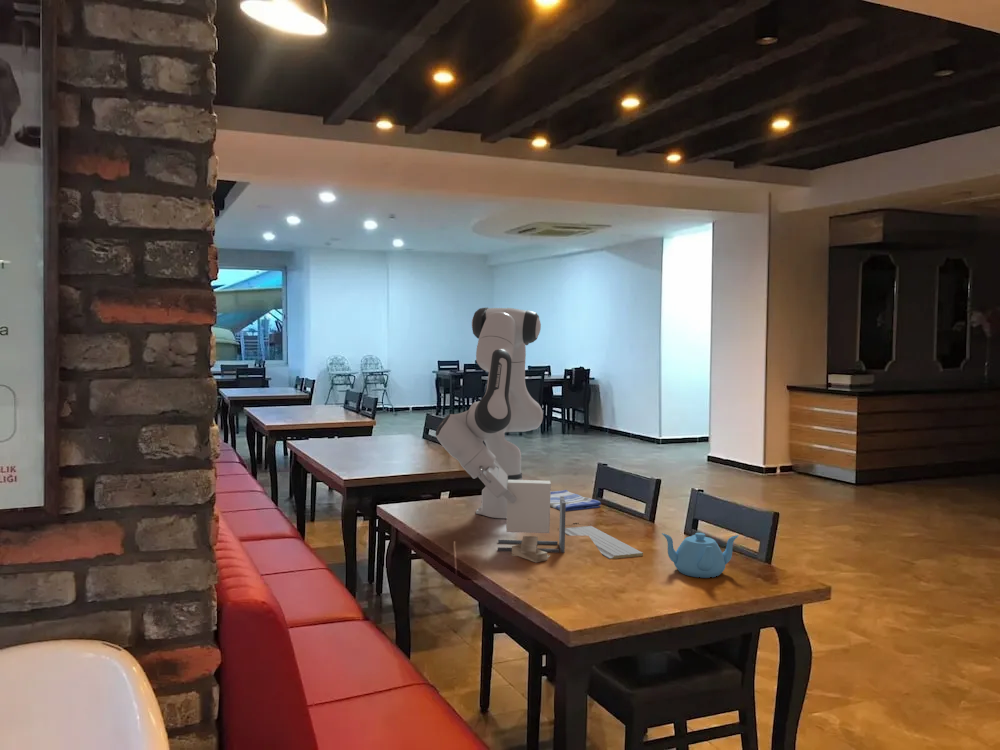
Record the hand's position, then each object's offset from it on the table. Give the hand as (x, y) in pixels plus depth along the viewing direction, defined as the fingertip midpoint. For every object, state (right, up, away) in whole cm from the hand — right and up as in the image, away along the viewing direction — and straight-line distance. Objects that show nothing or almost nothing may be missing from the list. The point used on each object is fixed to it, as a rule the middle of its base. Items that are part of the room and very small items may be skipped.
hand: (514, 499), depth 217 cm
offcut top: (+4, -12, -8) cm, 15 cm away
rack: (+4, -15, +1) cm, 15 cm away
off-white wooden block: (+4, -9, 0) cm, 10 cm away
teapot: (+48, -17, -16) cm, 53 cm away
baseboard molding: (+25, -16, +11) cm, 31 cm away
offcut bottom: (+4, -16, -7) cm, 18 cm away
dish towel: (+19, -12, +64) cm, 68 cm away
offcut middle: (+4, -14, -9) cm, 17 cm away
